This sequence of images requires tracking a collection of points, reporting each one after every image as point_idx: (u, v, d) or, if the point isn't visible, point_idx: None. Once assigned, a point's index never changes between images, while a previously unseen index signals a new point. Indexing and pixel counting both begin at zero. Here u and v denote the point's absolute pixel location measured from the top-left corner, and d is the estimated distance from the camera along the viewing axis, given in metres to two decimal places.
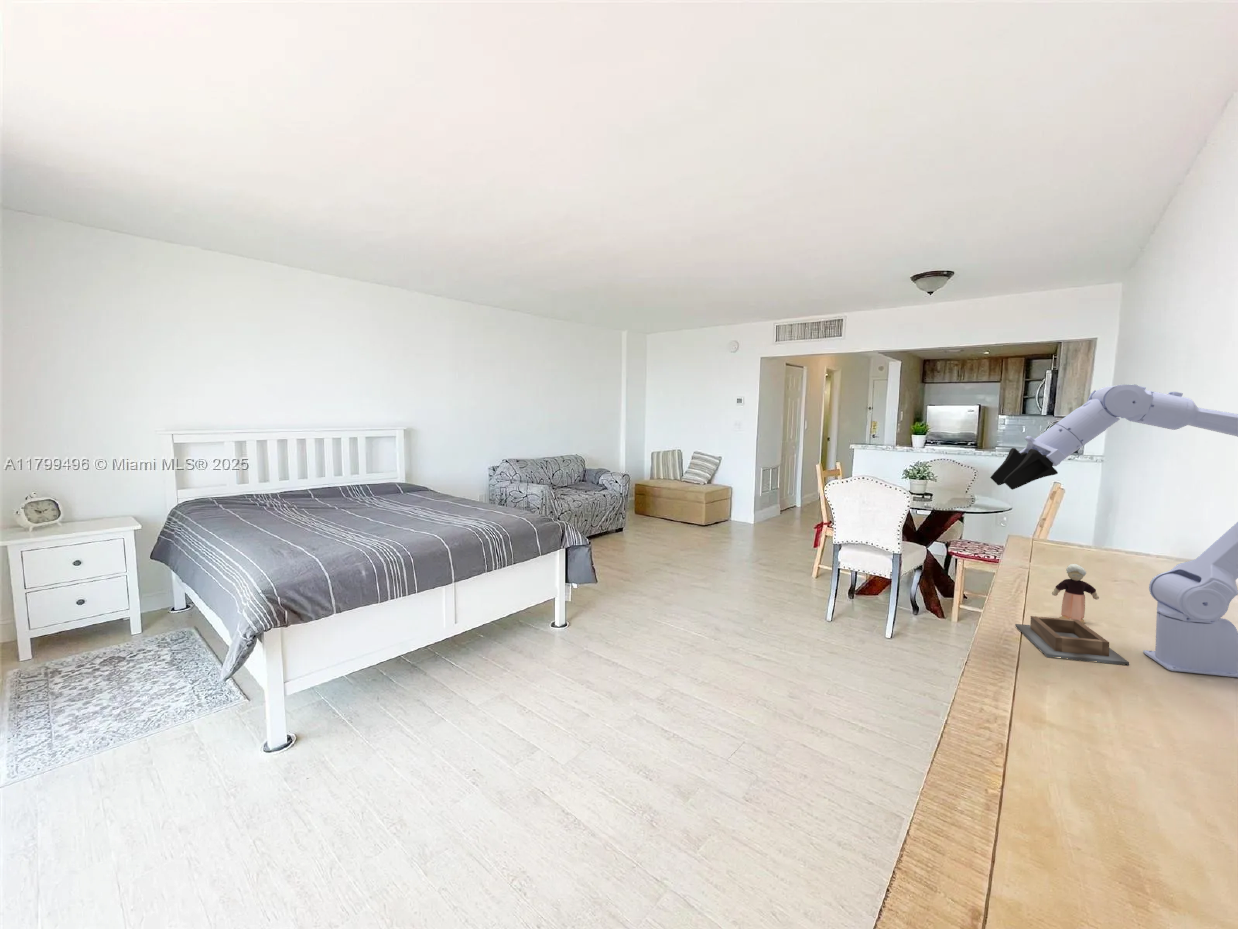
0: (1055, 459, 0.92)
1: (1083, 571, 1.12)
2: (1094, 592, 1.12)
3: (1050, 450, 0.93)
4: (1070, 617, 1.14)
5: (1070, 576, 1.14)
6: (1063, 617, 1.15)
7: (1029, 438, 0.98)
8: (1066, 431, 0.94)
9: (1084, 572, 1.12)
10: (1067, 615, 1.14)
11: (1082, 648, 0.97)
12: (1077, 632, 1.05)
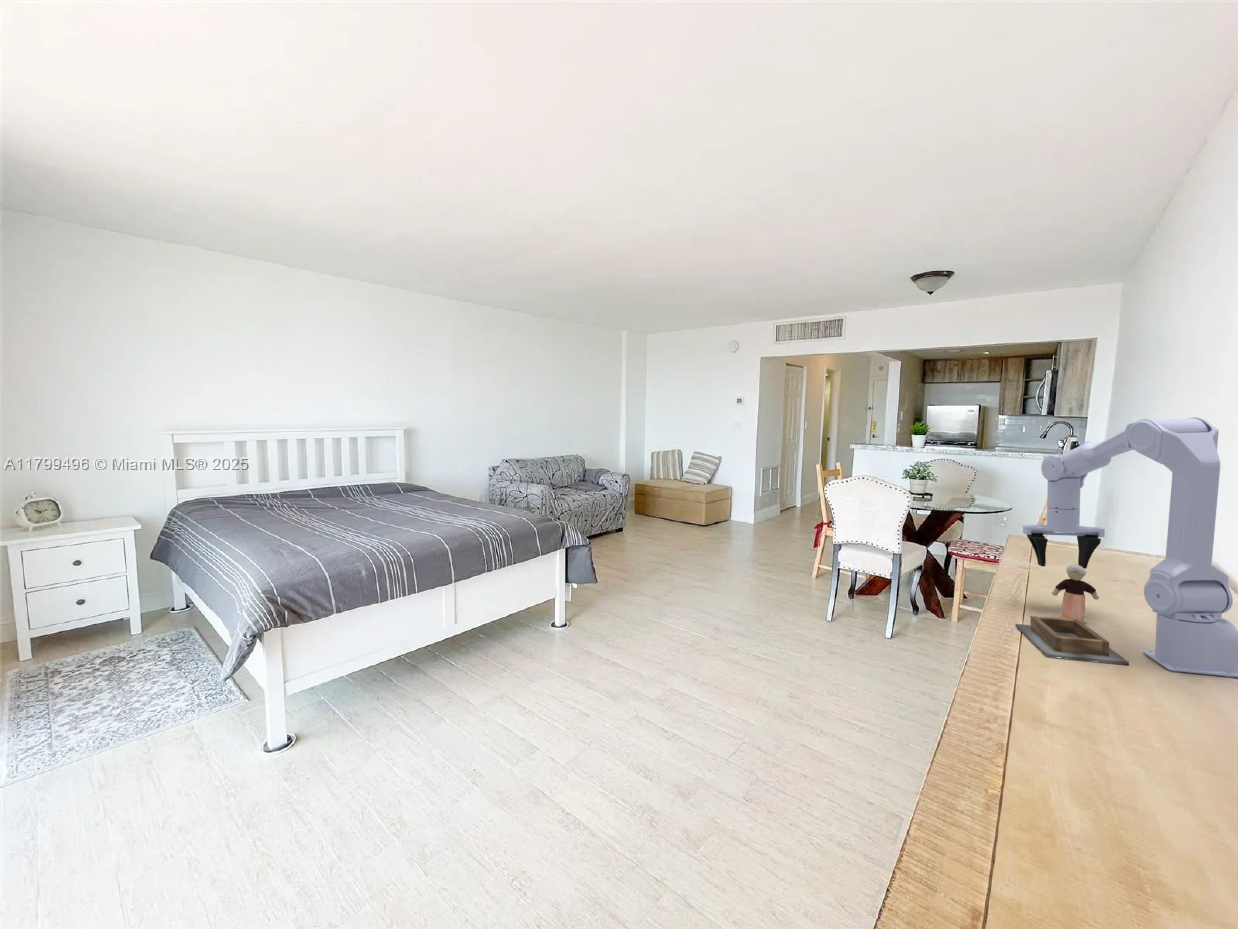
0: (1025, 531, 1.22)
1: (1083, 571, 1.12)
2: (1094, 592, 1.12)
3: None
4: (1070, 617, 1.14)
5: (1070, 576, 1.14)
6: (1063, 617, 1.15)
7: None
8: (1047, 508, 1.21)
9: (1084, 572, 1.12)
10: (1067, 615, 1.14)
11: (1082, 648, 0.97)
12: (1077, 632, 1.05)
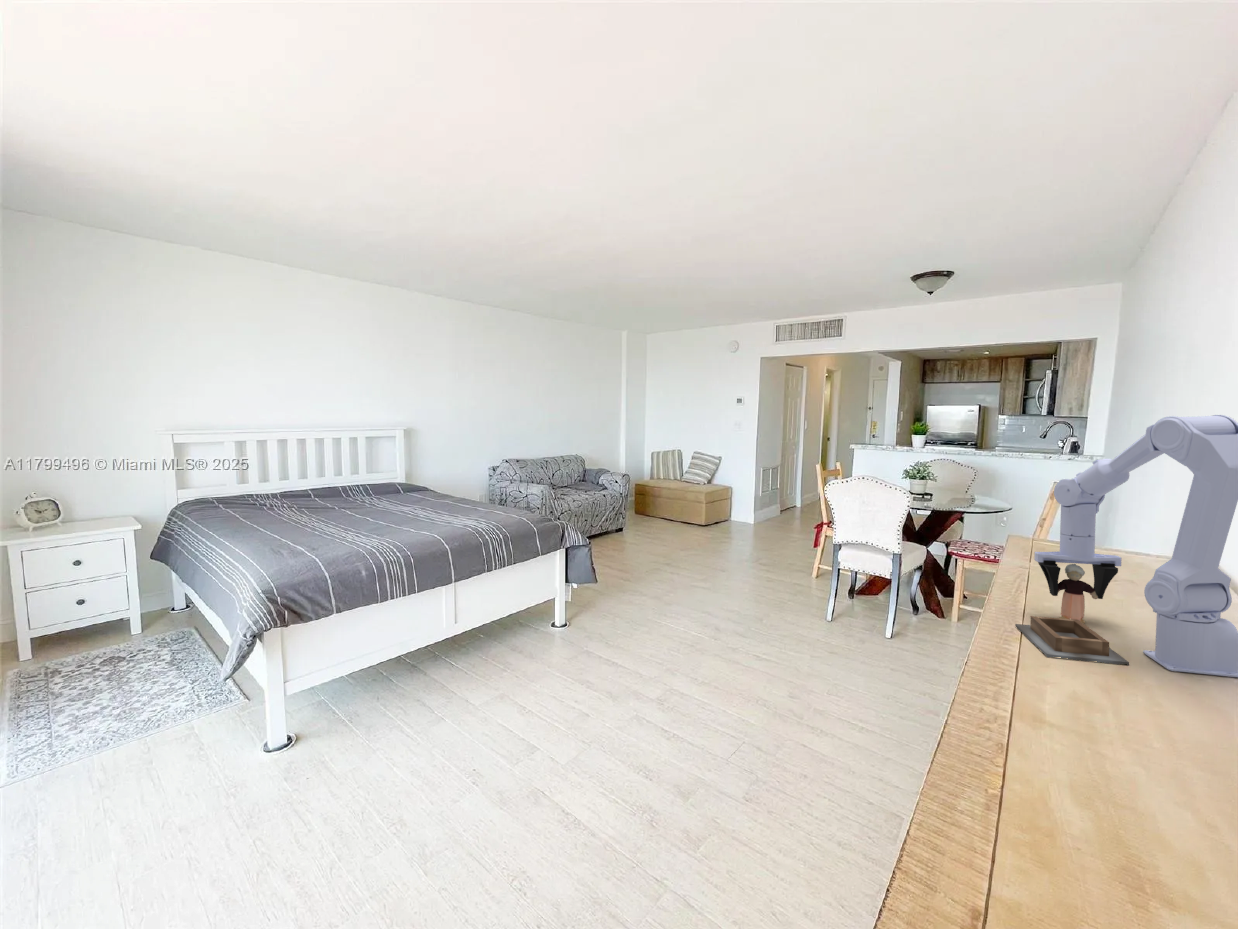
0: (1037, 559, 1.16)
1: (1081, 571, 1.12)
2: (1094, 592, 1.12)
3: None
4: (1070, 617, 1.14)
5: (1069, 576, 1.14)
6: (1063, 617, 1.15)
7: None
8: (1060, 534, 1.15)
9: (1083, 572, 1.12)
10: (1067, 615, 1.14)
11: (1082, 648, 0.97)
12: (1077, 632, 1.05)
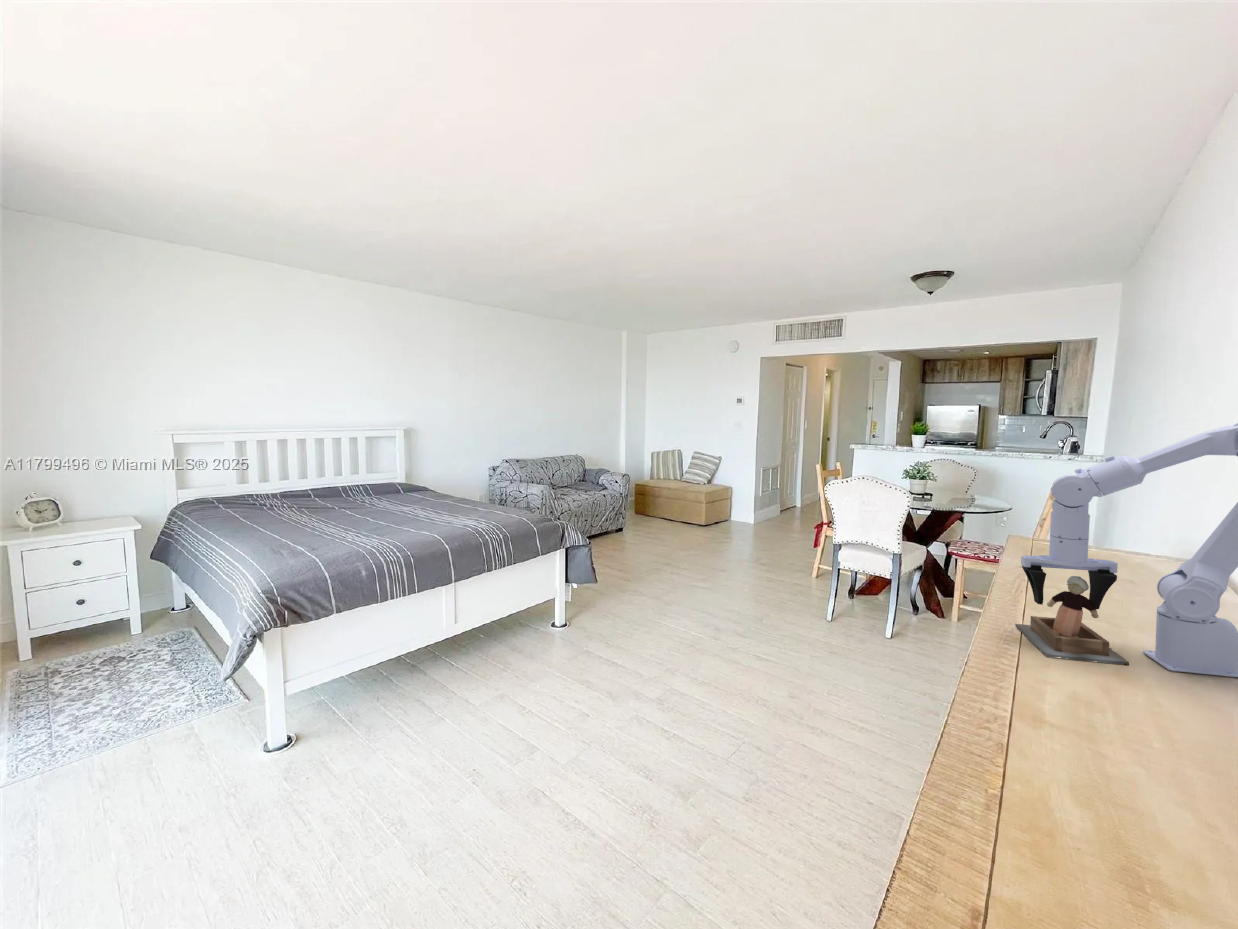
0: (1023, 563, 1.04)
1: (1084, 585, 1.01)
2: (1094, 610, 1.01)
3: None
4: (1061, 632, 1.04)
5: (1069, 588, 1.03)
6: None
7: None
8: (1050, 536, 1.04)
9: (1085, 586, 1.01)
10: (1058, 629, 1.04)
11: (1082, 648, 0.97)
12: None
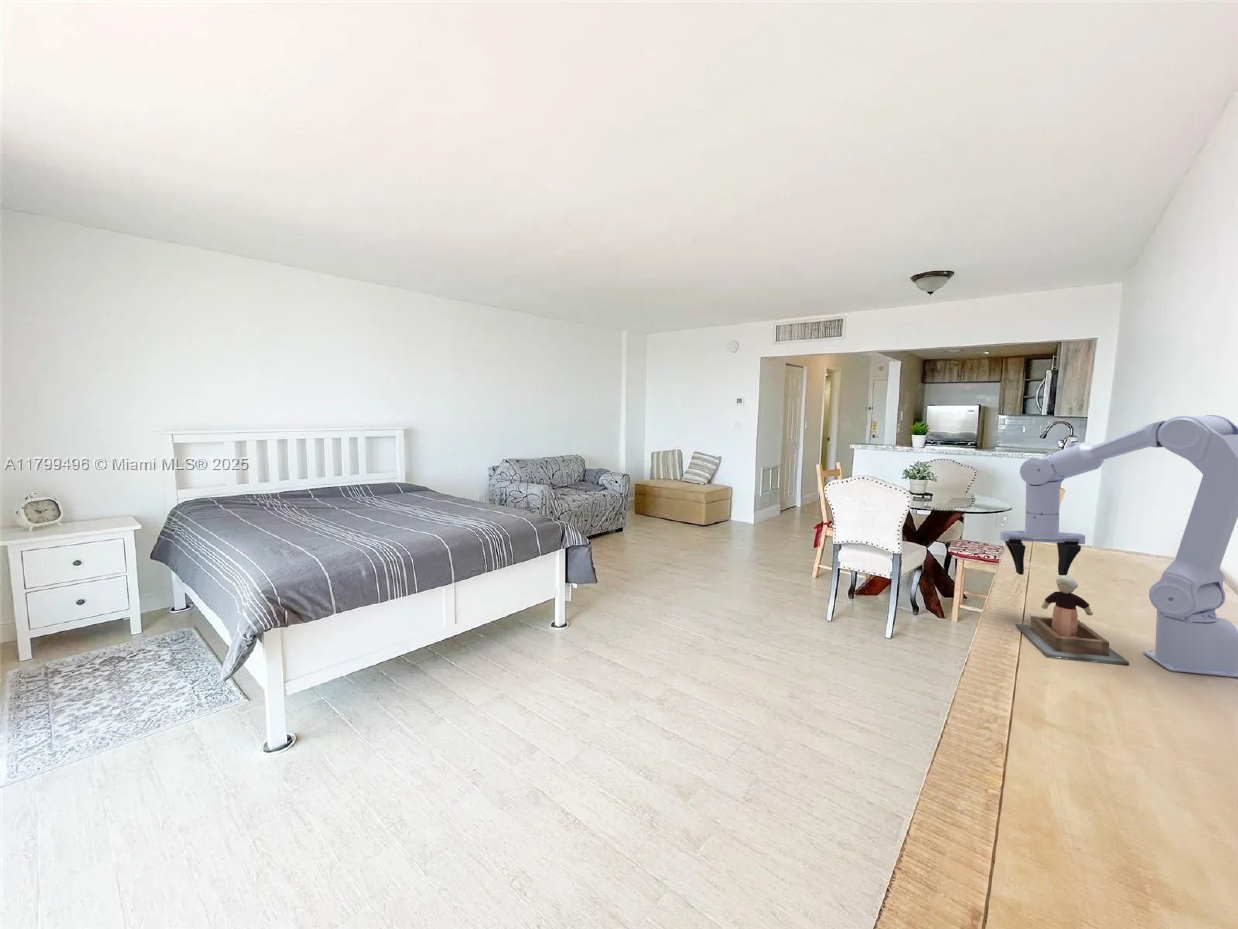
0: (1002, 538, 1.16)
1: (1072, 584, 1.02)
2: (1087, 607, 1.01)
3: None
4: (1059, 633, 1.04)
5: (1059, 588, 1.04)
6: None
7: None
8: None
9: (1074, 584, 1.02)
10: (1057, 631, 1.04)
11: (1082, 648, 0.97)
12: (1077, 632, 1.05)
